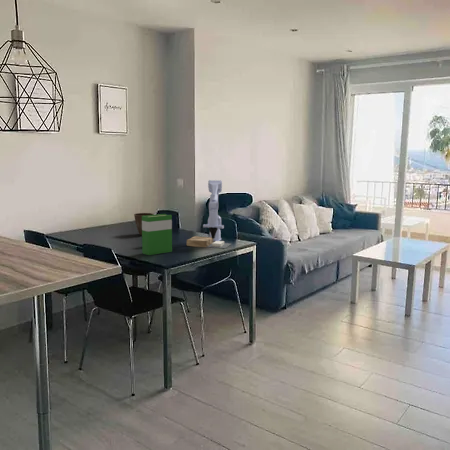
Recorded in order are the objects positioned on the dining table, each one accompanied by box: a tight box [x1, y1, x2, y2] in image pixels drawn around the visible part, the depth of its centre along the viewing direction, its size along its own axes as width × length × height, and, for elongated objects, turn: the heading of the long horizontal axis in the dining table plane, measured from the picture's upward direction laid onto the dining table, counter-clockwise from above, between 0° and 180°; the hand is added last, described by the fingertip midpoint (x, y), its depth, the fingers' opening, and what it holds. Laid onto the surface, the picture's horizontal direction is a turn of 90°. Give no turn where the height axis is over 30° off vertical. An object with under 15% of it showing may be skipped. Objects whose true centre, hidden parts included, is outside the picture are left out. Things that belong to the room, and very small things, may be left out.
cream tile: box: [212, 240, 225, 247], centre depth 327 cm, size 9×6×2 cm, turn 163°
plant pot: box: [133, 212, 155, 236], centre depth 367 cm, size 15×15×16 cm
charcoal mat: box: [206, 242, 232, 250], centre depth 328 cm, size 16×13×1 cm
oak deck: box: [186, 235, 214, 248], centre depth 332 cm, size 16×14×4 cm
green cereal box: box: [141, 213, 173, 256], centre depth 303 cm, size 18×7×24 cm, turn 130°
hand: (213, 238), depth 328 cm, fingers closed
